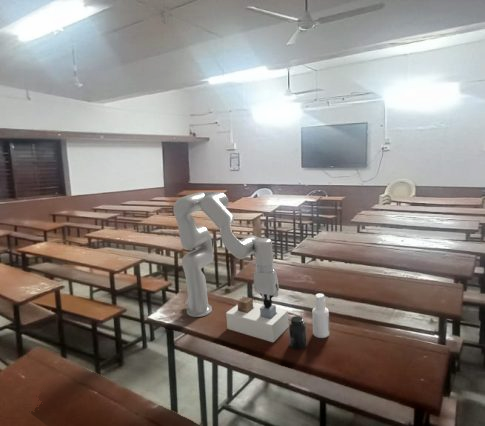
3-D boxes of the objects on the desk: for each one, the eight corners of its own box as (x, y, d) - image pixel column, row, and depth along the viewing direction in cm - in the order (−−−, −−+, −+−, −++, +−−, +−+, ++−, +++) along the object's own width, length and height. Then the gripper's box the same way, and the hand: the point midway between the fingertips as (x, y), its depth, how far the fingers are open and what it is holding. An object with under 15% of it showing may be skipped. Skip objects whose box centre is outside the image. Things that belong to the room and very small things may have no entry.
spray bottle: (332, 332, 158) (331, 294, 154) (324, 340, 154) (322, 300, 150) (318, 327, 163) (317, 290, 159) (310, 334, 158) (308, 296, 154)
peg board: (227, 328, 168) (226, 312, 167) (244, 314, 180) (243, 299, 178) (273, 342, 155) (272, 325, 153) (288, 326, 166) (287, 310, 164)
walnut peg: (238, 314, 169) (237, 301, 167) (244, 309, 173) (243, 296, 171) (247, 316, 166) (246, 303, 164) (253, 311, 170) (252, 298, 168)
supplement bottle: (287, 348, 150) (285, 321, 148) (293, 339, 156) (291, 313, 153) (303, 351, 147) (302, 324, 144) (308, 342, 153) (307, 316, 150)
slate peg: (260, 321, 162) (259, 308, 161) (266, 316, 166) (265, 303, 165) (270, 324, 159) (269, 310, 158) (276, 319, 163) (275, 305, 162)
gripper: (245, 268, 158) (249, 307, 162) (276, 273, 150) (279, 314, 154) (254, 262, 164) (258, 300, 168) (284, 266, 156) (287, 306, 160)
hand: (268, 306), depth 161 cm, fingers closed
